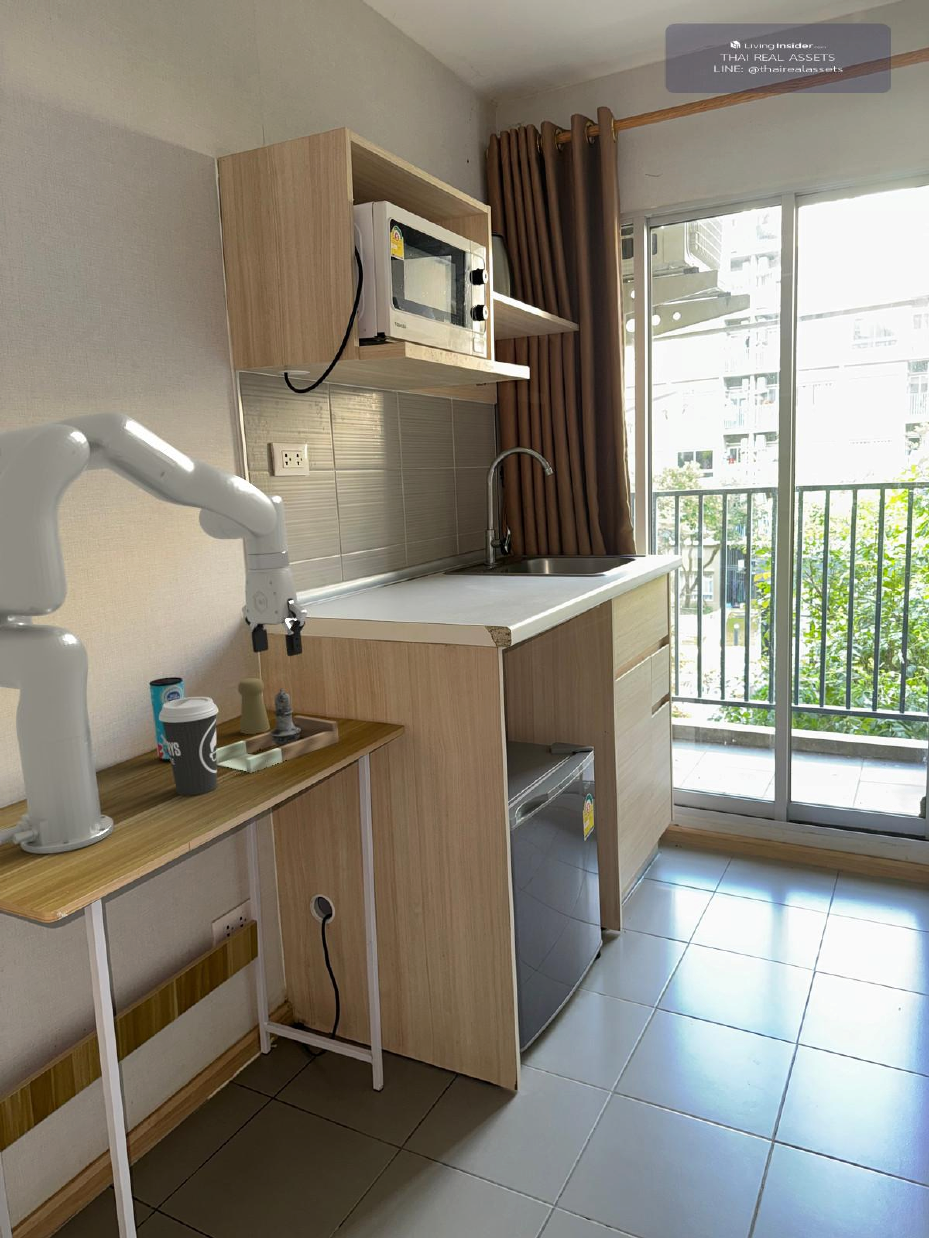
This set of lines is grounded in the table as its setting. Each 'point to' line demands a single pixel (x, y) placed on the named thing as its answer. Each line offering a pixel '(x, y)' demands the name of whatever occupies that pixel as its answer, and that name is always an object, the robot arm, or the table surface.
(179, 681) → the beverage can
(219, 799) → the table surface
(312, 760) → the table surface
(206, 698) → the coffee cup
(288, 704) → the grey chess piece
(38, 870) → the table surface
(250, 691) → the cork
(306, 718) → the bay
